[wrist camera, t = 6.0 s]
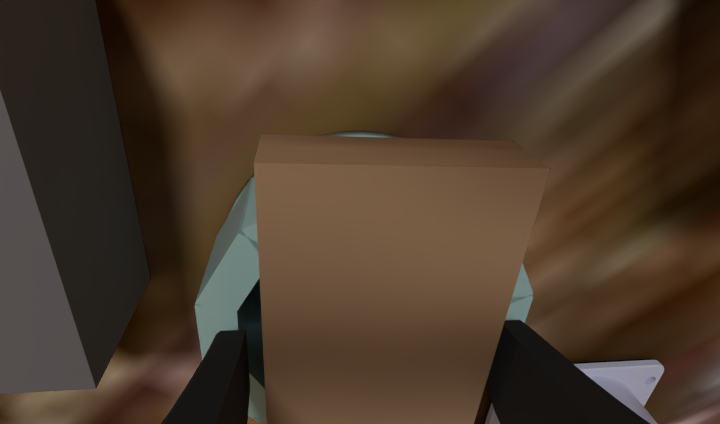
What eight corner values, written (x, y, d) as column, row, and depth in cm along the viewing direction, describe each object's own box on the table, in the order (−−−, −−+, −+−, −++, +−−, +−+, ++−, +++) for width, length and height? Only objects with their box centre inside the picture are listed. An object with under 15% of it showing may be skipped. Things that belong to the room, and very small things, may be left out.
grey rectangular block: (150, 279, 15) (96, 388, 11) (55, 281, 14) (-38, 395, 10) (82, -65, 10) (-60, -97, 6) (-63, -78, 10) (-318, -121, 6)
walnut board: (436, 447, 15) (451, 497, 13) (274, 460, 14) (271, 514, 12) (513, 141, 9) (551, 168, 8) (261, 134, 9) (253, 162, 7)
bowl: (452, 340, 18) (489, 427, 14) (232, 350, 17) (214, 448, 13) (500, 135, 14) (569, 187, 10) (210, 125, 12) (176, 182, 9)
